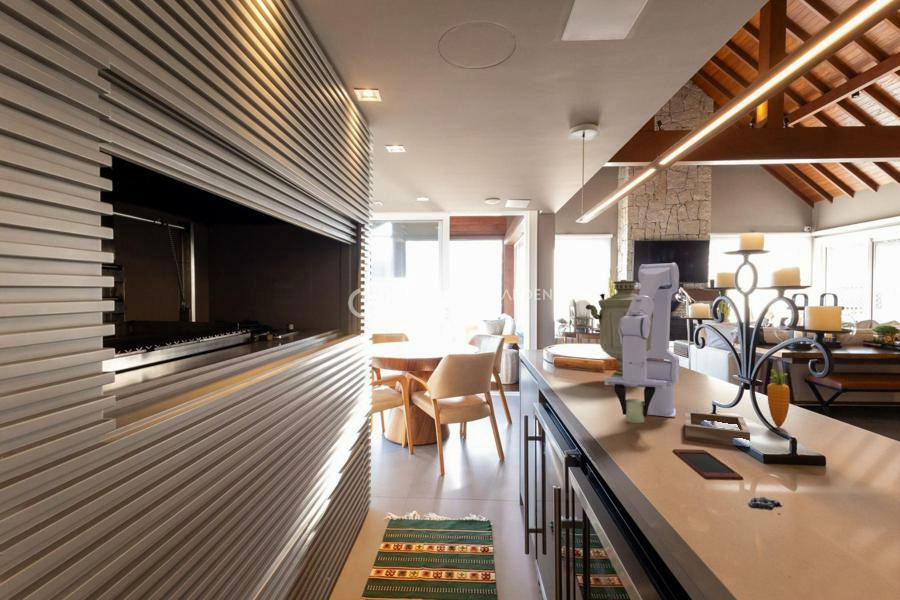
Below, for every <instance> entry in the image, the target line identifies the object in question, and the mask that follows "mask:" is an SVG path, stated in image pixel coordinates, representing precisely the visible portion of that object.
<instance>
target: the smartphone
mask: <svg viewBox="0 0 900 600" xmlns="http://www.w3.org/2000/svg"><path fill="white" fill-rule="evenodd" d="M672 453H674V455H676V456H677V457H678V458H680V459H681V460H682V461H683V462H684V463H685V464H687V465H688V466H689V467H690V468H691V469H693V470H694V471H695V472H697V474H699V475H700V476H701V477H702V478H704V479H706V480H725V481H727V480H728V481H729V480H730V481H732V480H734V481H735V480H737V481H738V480H739V481H740V480H741V481H742V480H744V477H743V476H742V475H741V474H740V473H738V472H737V471H735V470H734V469H733V468H731V467H729V466H728V465H727V464H726V463H724V462H722V461H721V460H720V459H718V458H716V456H714V455H713V454H711V453H710V452H708V451H706V450H705V449H691V448H690V449H686V448H685V449H684V448H683V449H682V448H679V449H678V448H677V449H675V448H674V449H672Z"/></svg>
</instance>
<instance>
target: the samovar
mask: <svg viewBox="0 0 900 600" xmlns="http://www.w3.org/2000/svg"><path fill="white" fill-rule="evenodd" d="M637 282H638V281H637V280H626V281H625V280H623V281H622V280H620V281H619V280H617V281H613V282H612V283H613V284H615V290H616V291H617V292H616V293H614V294H613V295H611V297H607V298H606V297H605V295H606V294H605V293H600V294H599V297H601V299H600V300H598V305H599V307H600V310H599V313H598V309H597V307H596V306H595V305H592V304H587V305H585V309H586V310H590V315H591V316H592V317H593V319H595V320H598V322H599V344H600V347H601V349H602V352H604V353H606V354H607V355H608V356H609V357H611V358H614V359H616V363H617V364H616V365H618V366H619V367H620V368H619V369H616V370H615V372H613V373H612V375H611V377H623V355H622V344H621V342H620V335H619V331H618V327H619V321H620V319H621V318H623V317H624V316H626V314H627V312H628V309H629V307H630V305H631V302H632V300H633V298H634V297H636V296H639V294H636V293H634V292H633V291H634V290H635V284H636V283H637ZM605 298H606V299H605ZM650 321H651V324H650V333H649V336H648V338H646V352H648V351H649V350H651V344H652V321H653V312H652V314H651V317H650Z"/></svg>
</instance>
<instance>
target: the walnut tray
mask: <svg viewBox="0 0 900 600" xmlns="http://www.w3.org/2000/svg"><path fill="white" fill-rule="evenodd" d="M684 414H685V415H684V420H685V421H684V422H685V423H684V425H685V426H684V427H685V428H684V431H685V435H684V436H685V441H692V442H701V443H708V444H717V445H724V446H731V447H735V446H734V444H733V441H732V440H733V438H743V439H746V440H749V441H750V442H751V432H750V429H749V428H748V425H747V423H746V421H745V419H744V417H743V416H738V415H737V416H736V415H726V414H717V413H715V414H714V413H708V412H707V413H706V412H697V411H696V412H695V411H688V410H687V411H686V410H685V412H684ZM704 420H707V421H717V422H722V423H728V424H737V425H738V427H739V429H740V430H734V429H725V428H716V427H707V426H705V425H703V424H701V422H702V421H704Z"/></svg>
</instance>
